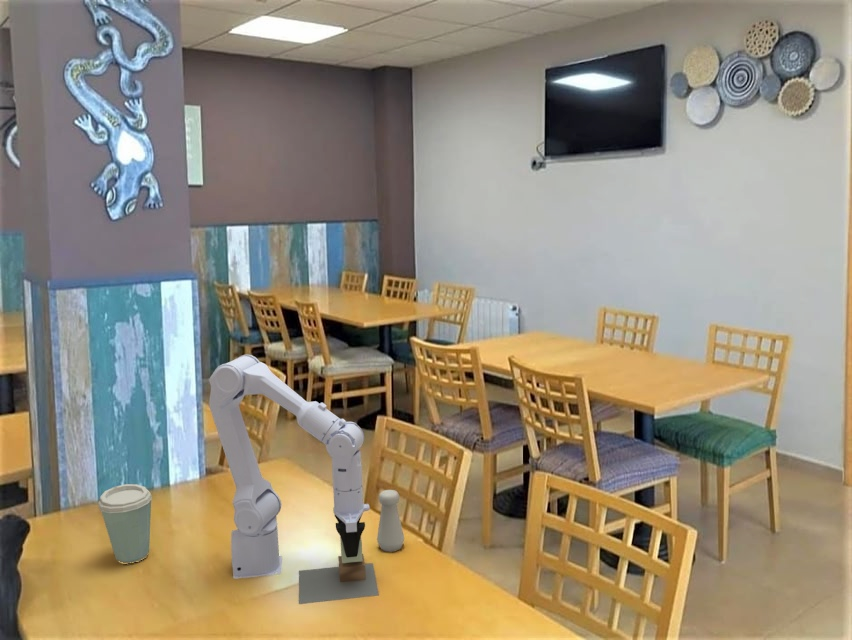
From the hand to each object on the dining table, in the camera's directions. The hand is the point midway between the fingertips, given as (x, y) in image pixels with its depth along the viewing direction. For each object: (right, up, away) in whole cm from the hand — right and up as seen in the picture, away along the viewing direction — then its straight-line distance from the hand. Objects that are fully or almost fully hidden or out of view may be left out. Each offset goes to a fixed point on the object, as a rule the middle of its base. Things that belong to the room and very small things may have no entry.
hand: (351, 551), depth 153 cm
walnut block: (0, -5, +1) cm, 5 cm away
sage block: (0, -1, 0) cm, 1 cm away
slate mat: (-2, -6, -2) cm, 7 cm away
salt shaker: (+7, -4, +13) cm, 15 cm away
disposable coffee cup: (-48, -5, +12) cm, 50 cm away
